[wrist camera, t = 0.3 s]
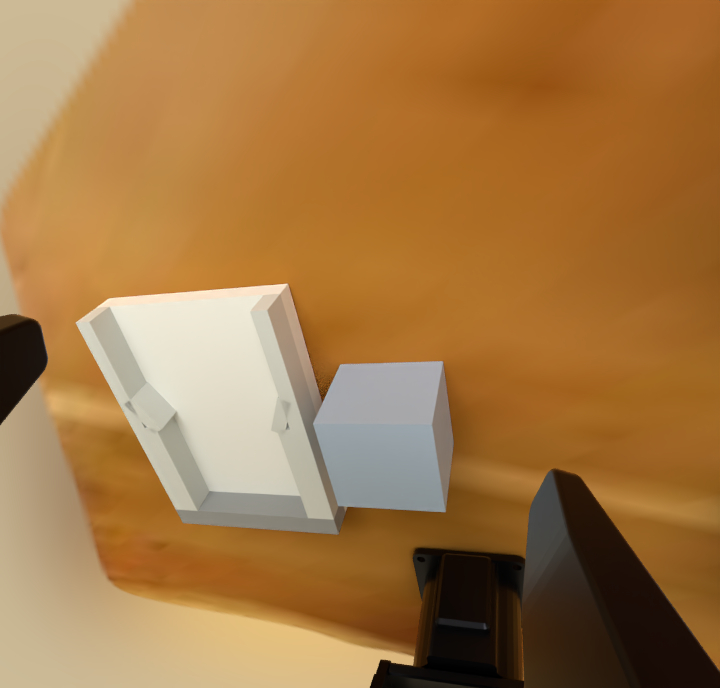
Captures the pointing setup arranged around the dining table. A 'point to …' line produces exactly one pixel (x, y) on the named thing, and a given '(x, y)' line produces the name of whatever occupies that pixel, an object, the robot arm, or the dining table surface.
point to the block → (388, 436)
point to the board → (221, 403)
